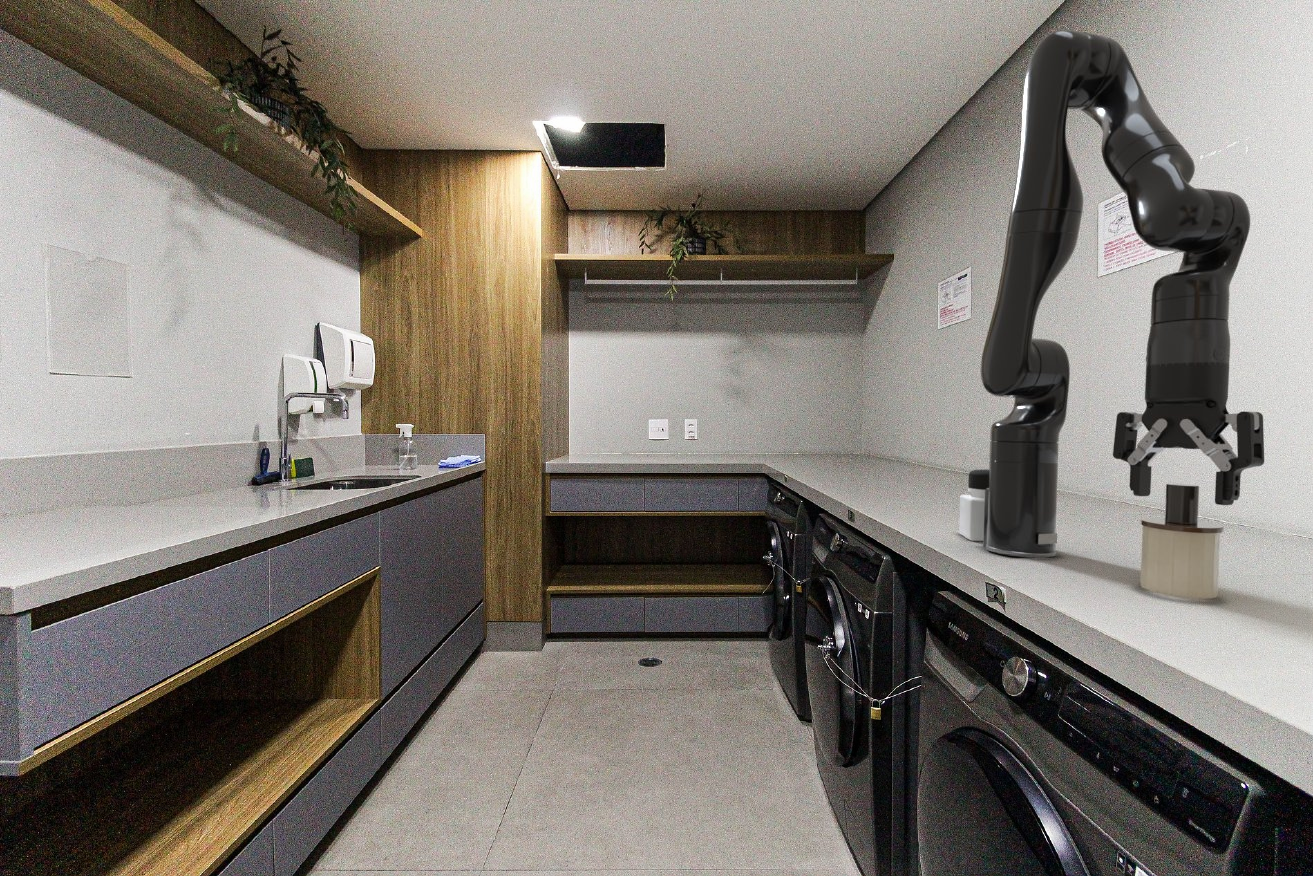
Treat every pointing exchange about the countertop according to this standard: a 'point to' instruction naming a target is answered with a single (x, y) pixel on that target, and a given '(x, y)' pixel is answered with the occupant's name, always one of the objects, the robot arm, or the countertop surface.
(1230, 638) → the countertop surface
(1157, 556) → the canister
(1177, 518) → the lid
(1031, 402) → the robot arm
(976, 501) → the medicine bottle
